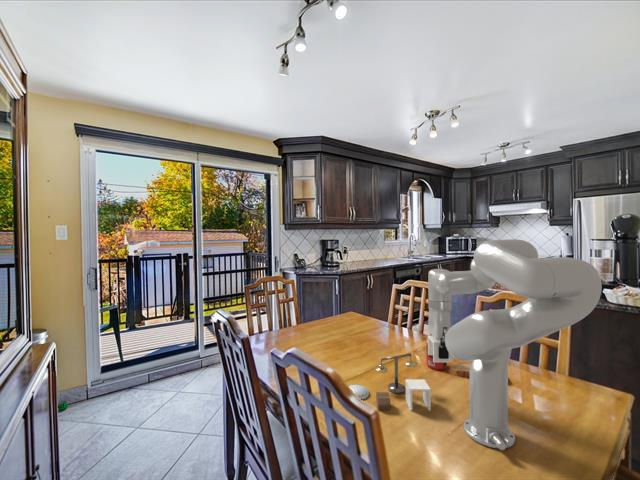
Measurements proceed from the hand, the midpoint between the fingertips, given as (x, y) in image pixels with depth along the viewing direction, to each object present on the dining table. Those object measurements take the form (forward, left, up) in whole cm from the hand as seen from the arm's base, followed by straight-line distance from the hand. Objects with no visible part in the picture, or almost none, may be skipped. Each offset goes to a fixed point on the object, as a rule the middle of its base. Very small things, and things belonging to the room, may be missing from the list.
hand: (439, 353), depth 106 cm
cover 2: (0, 0, -2) cm, 2 cm away
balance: (+3, +15, -14) cm, 21 cm away
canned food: (+22, -6, -15) cm, 27 cm away
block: (-8, +22, -15) cm, 27 cm away
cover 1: (-7, +10, -14) cm, 19 cm away
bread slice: (+14, -20, -15) cm, 28 cm away
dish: (0, +30, -14) cm, 33 cm away
